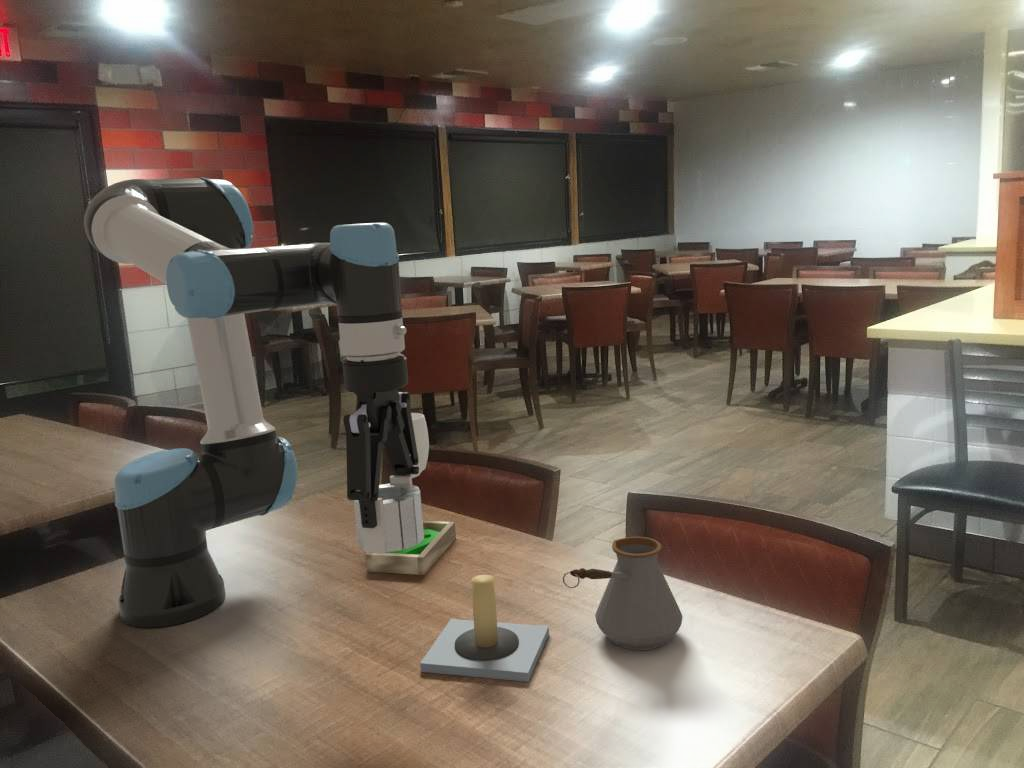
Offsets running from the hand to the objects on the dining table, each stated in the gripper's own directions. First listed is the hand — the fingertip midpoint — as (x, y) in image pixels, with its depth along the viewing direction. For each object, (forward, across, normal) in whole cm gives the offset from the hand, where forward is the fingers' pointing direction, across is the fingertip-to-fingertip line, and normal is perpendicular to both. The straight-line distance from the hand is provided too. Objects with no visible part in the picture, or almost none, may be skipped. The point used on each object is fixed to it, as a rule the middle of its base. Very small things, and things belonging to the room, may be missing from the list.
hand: (390, 537), depth 104 cm
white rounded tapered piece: (+17, +49, +19) cm, 56 cm away
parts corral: (+17, +36, +14) cm, 42 cm away
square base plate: (+18, +6, -9) cm, 21 cm away
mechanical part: (+17, +36, +14) cm, 42 cm away
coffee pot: (+18, +10, -26) cm, 33 cm away
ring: (0, 0, 0) cm, 0 cm away
